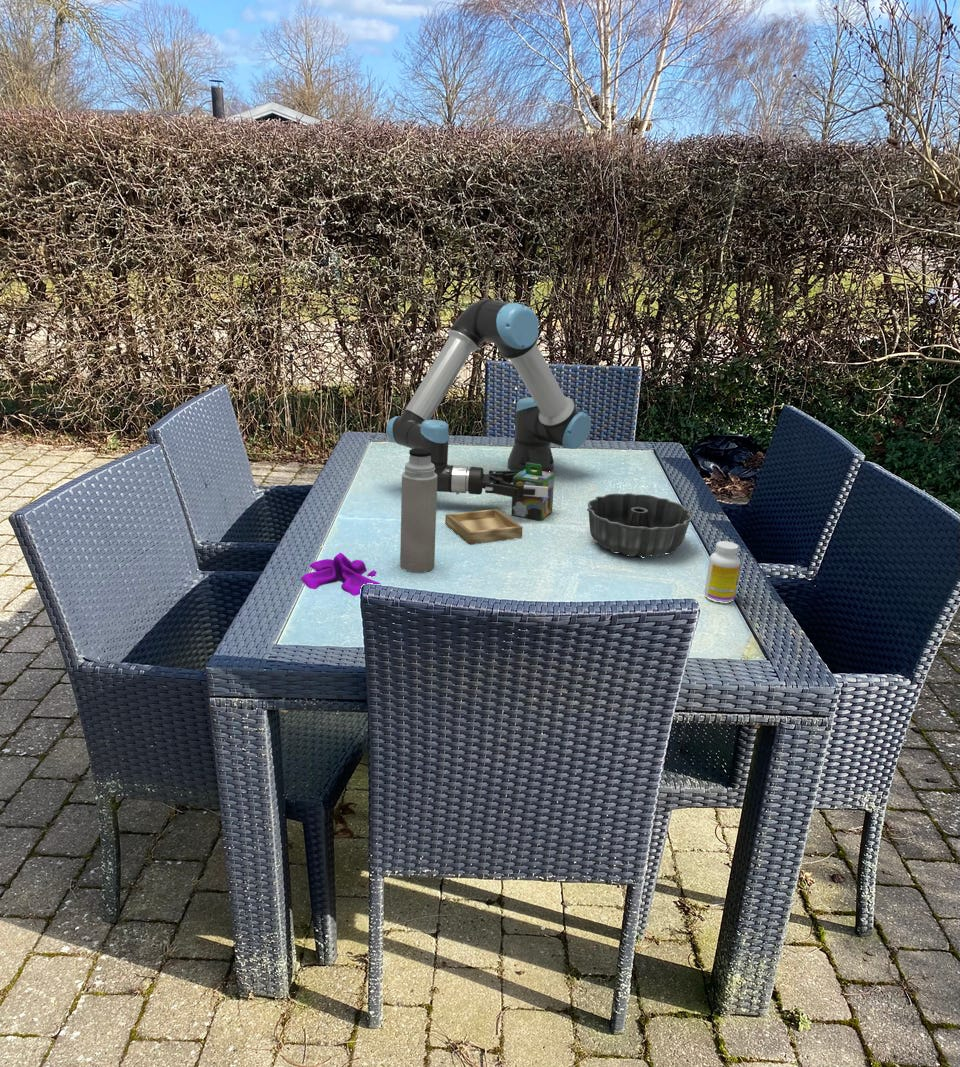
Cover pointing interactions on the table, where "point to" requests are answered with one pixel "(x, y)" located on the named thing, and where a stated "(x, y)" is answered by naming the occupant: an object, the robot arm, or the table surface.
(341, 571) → the cloth
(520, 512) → the chalk box
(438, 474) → the robot arm
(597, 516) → the bundt pan
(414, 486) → the thermos bottle
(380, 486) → the table surface
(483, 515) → the bamboo tray
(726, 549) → the supplement bottle
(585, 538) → the table surface
